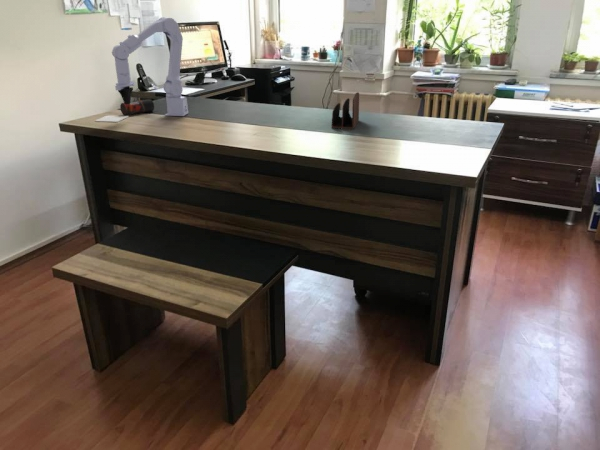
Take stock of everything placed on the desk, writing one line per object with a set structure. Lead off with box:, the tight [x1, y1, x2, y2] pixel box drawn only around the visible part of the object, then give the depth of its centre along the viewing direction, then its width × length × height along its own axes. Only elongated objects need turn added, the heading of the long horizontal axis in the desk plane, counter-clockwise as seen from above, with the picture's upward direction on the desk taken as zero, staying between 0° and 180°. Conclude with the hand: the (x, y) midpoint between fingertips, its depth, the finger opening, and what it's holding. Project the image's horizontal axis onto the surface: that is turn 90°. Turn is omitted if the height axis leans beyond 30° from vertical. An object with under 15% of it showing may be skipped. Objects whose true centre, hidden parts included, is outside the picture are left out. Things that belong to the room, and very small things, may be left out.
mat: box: [94, 115, 130, 123], centre depth 234 cm, size 11×12×1 cm
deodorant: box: [120, 99, 155, 116], centre depth 246 cm, size 6×6×15 cm
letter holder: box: [331, 92, 360, 130], centre depth 224 cm, size 10×20×14 cm, turn 167°
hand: (127, 103), depth 230 cm, fingers closed
